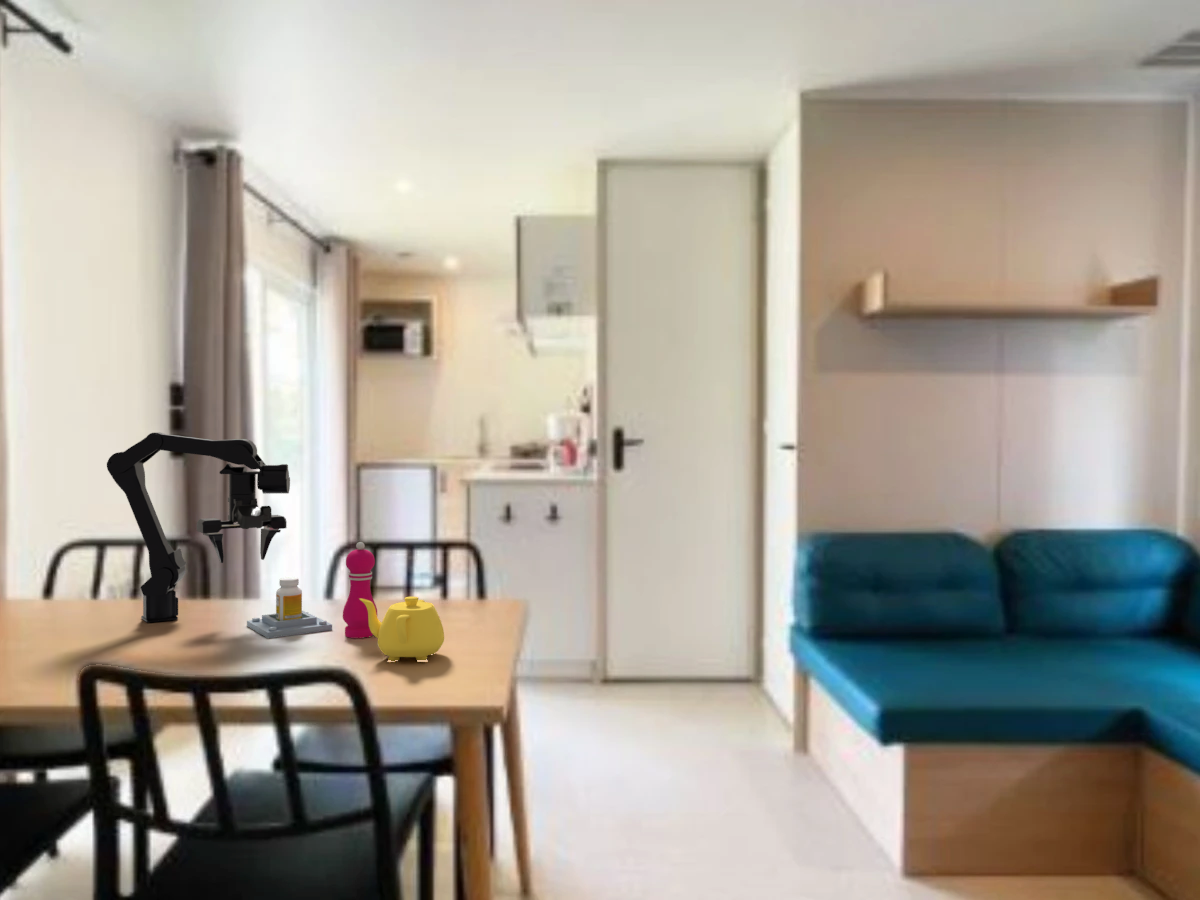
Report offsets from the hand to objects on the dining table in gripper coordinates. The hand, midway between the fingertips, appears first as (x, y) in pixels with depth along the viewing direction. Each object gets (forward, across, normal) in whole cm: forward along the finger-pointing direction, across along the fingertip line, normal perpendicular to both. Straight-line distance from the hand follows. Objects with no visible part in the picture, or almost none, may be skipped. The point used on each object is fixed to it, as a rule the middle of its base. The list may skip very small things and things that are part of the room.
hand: (242, 561), depth 218 cm
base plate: (+13, +5, -17) cm, 22 cm away
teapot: (+13, +14, -54) cm, 57 cm away
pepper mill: (+13, +15, -32) cm, 38 cm away
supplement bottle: (+12, +5, -17) cm, 21 cm away
